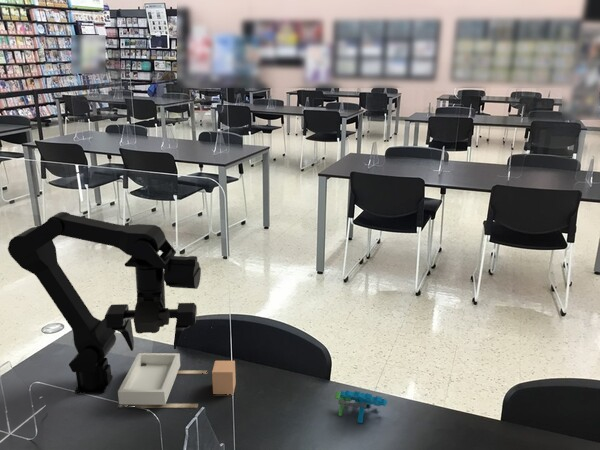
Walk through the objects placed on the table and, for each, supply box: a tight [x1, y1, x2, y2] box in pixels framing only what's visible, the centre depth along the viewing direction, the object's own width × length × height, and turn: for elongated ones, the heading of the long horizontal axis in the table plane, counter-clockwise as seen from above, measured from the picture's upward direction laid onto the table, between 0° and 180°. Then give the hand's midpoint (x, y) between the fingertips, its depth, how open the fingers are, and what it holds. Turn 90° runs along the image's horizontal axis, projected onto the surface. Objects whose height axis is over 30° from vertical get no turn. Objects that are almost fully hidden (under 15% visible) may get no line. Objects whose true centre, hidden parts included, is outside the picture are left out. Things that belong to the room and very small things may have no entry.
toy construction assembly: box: [334, 389, 388, 424], centre depth 107 cm, size 11×6×10 cm
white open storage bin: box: [117, 352, 181, 405], centre depth 115 cm, size 10×15×4 cm, turn 0°
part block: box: [211, 360, 237, 396], centre depth 115 cm, size 4×4×6 cm
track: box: [118, 369, 208, 409], centre depth 116 cm, size 17×14×1 cm
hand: (153, 349), depth 113 cm, fingers open, 9 cm apart
